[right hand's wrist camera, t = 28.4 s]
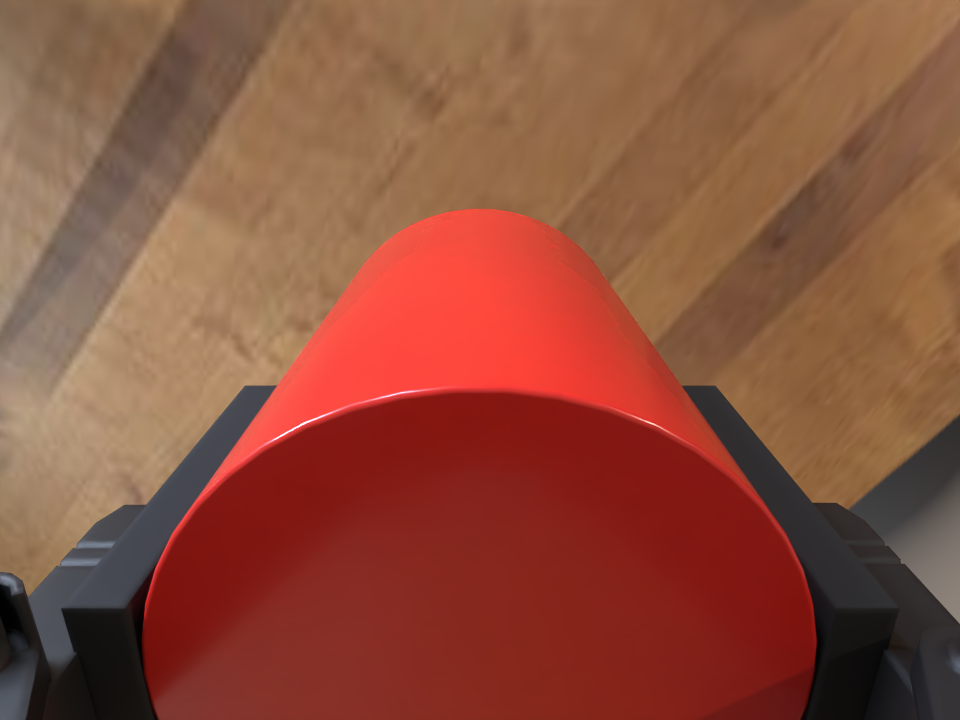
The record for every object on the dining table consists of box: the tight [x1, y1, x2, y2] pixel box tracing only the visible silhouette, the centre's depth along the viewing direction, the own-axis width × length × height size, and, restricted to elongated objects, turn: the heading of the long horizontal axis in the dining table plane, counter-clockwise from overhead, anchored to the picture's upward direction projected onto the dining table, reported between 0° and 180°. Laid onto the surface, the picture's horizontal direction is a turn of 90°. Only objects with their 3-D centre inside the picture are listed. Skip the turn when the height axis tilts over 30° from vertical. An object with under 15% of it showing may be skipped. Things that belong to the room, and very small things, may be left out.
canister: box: [142, 209, 817, 720], centre depth 14 cm, size 8×8×12 cm
